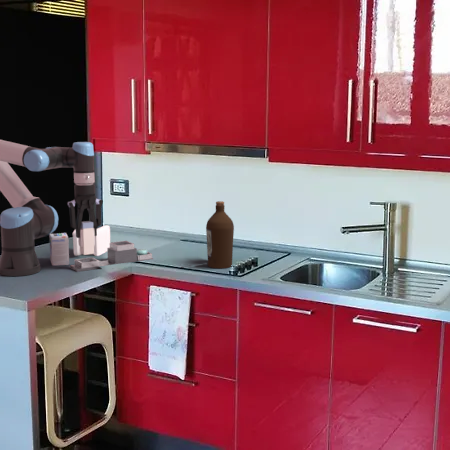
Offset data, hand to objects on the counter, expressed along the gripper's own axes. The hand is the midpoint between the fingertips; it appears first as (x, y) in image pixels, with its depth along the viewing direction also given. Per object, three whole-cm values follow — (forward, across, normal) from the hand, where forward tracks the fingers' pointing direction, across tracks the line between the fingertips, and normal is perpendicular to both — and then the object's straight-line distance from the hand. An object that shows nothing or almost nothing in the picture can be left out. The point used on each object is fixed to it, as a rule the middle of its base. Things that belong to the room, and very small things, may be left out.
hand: (86, 245), depth 263 cm
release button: (+6, +23, 0) cm, 24 cm away
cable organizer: (+9, +10, +21) cm, 25 cm away
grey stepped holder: (+9, +10, 0) cm, 14 cm away
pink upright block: (+3, 0, 0) cm, 3 cm away
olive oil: (+9, +44, -24) cm, 51 cm away
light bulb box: (+9, -6, +15) cm, 18 cm away
